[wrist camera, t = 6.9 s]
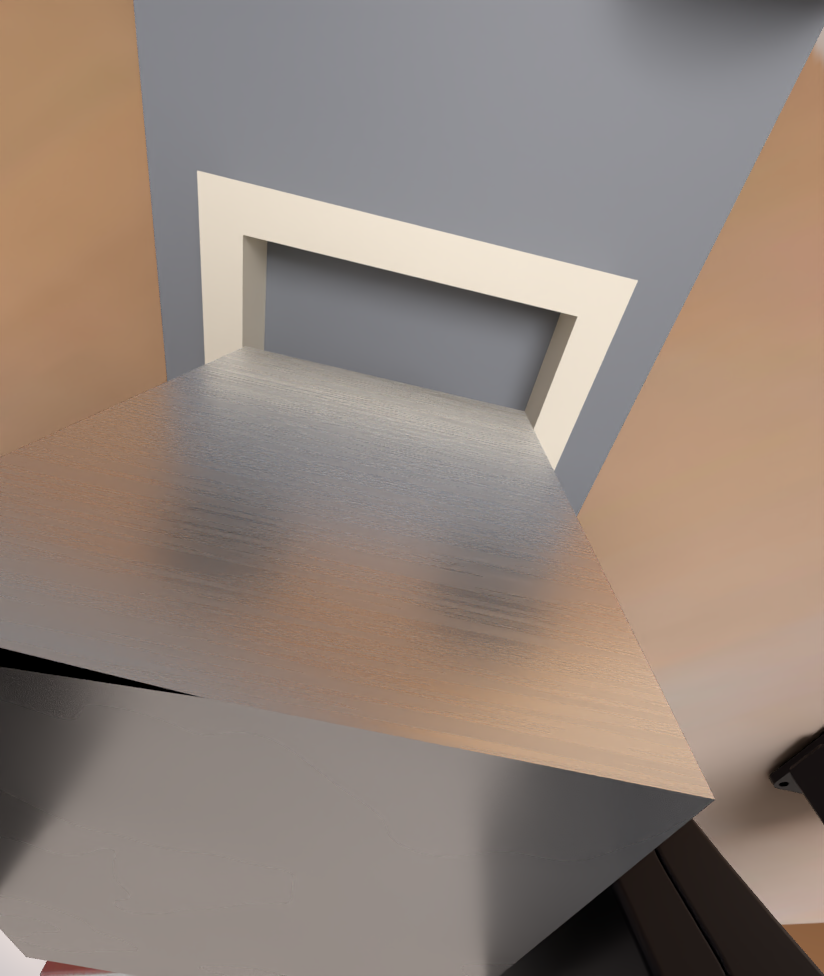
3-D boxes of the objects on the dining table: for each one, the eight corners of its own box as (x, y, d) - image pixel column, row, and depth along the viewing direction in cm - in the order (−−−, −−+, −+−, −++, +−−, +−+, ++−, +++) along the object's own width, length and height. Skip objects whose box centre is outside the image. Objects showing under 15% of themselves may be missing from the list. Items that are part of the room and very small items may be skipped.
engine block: (524, 411, 7) (714, 798, 2) (442, 636, 10) (436, 1028, 5) (245, 346, 7) (-306, 597, 2) (243, 594, 10) (25, 957, 5)
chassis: (847, -80, 8) (1173, -351, 5) (484, 675, 21) (493, 769, 17) (145, -287, 8) (-138, -796, 4) (203, 618, 20) (146, 701, 17)
